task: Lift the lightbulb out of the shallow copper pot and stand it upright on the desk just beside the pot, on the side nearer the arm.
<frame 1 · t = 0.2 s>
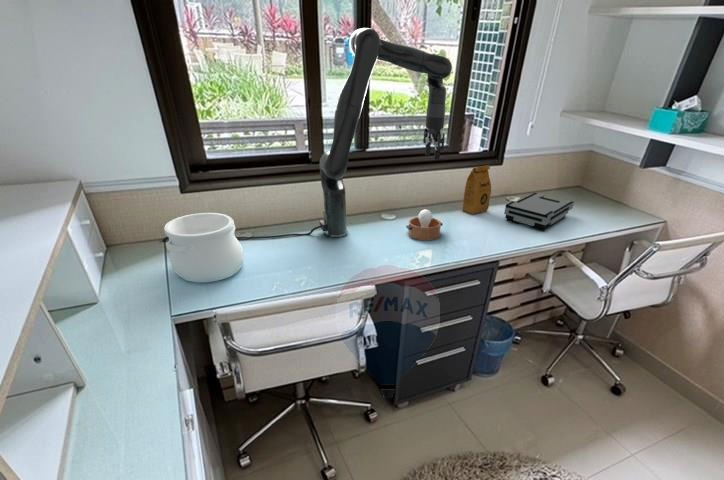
hand: (432, 157, 176), 29 cm above the table, tool pointing down, fingers open, 8 cm apart
game console: (537, 218, 200), on the table
pot: (211, 270, 148), on the table
coffee package: (474, 211, 206), on the table
lightbulb: (423, 234, 180), resting in copper pot
copper pot: (423, 234, 180), on the table
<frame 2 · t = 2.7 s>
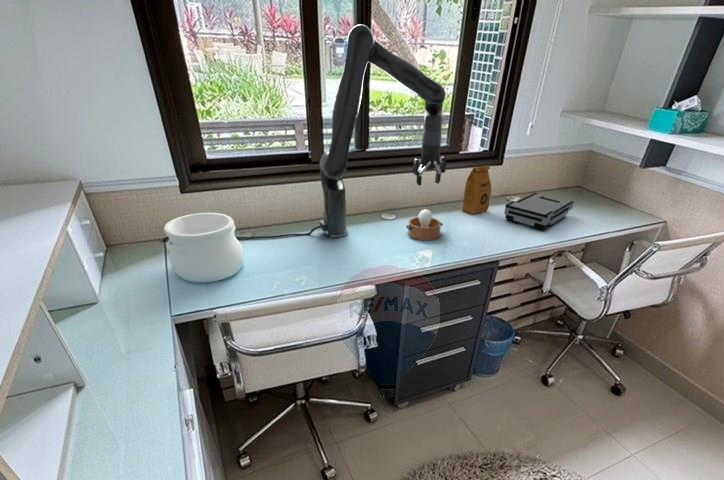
hand: (428, 184, 170), 21 cm above the table, tool pointing down, fingers open, 8 cm apart
nothing on the table moved.
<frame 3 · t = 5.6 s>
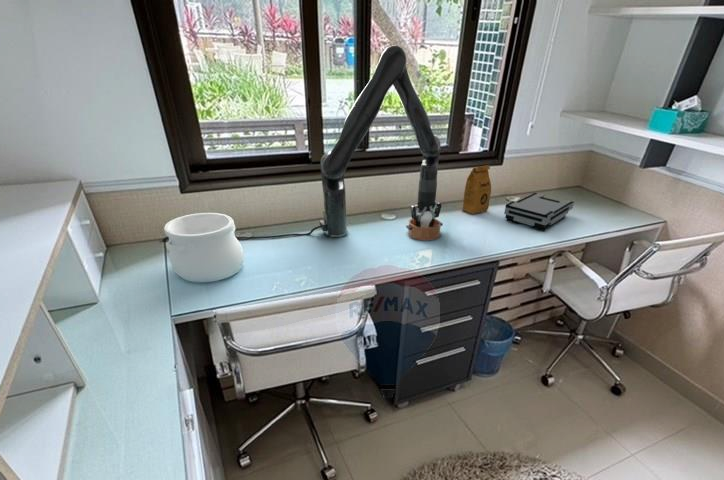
hand: (424, 227, 178), 3 cm above the table, tool pointing down, fingers closed on lightbulb, 5 cm apart
lightbulb: (423, 234, 180), resting in copper pot, touching gripper
everything else where it was.
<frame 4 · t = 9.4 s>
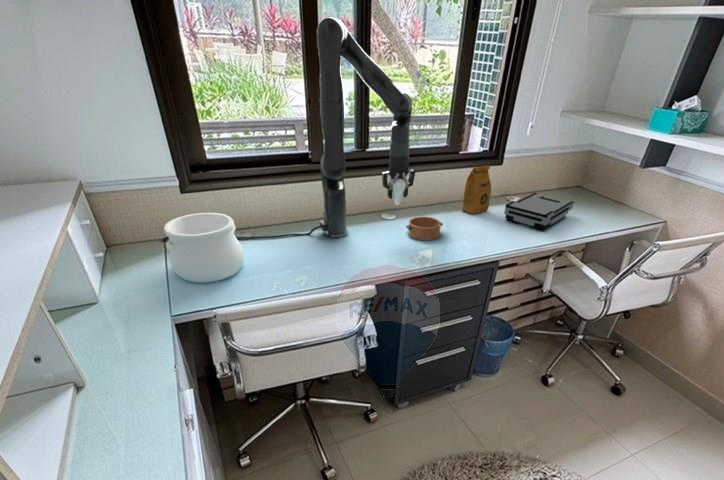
hand: (397, 197, 165), 18 cm above the table, tool pointing down, fingers closed on lightbulb, 5 cm apart
lightbulb: (397, 205, 167), point 14 cm above the table, touching gripper
everything else where it was.
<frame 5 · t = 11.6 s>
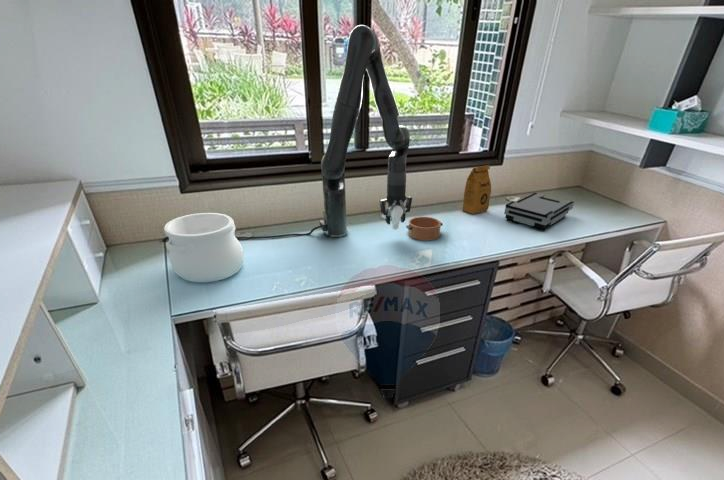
hand: (395, 222, 171), 7 cm above the table, tool pointing down, fingers closed on lightbulb, 6 cm apart
lightbulb: (395, 230, 173), point 4 cm above the table, touching gripper
everything else where it was.
when the fingers open (3 cm above the table, at t = 13.1 s): lightbulb stays where it is, on the table.
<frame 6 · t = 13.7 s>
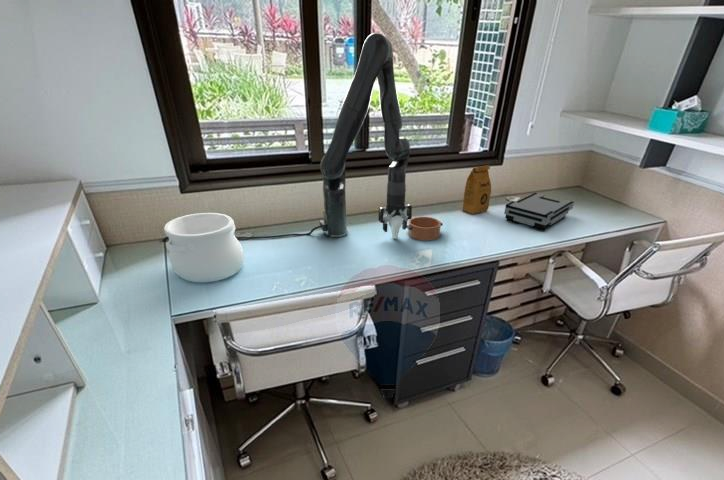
hand: (394, 230, 173), 4 cm above the table, tool pointing down, fingers open, 8 cm apart
lightbulb: (394, 239, 175), on the table
everything else where it was.
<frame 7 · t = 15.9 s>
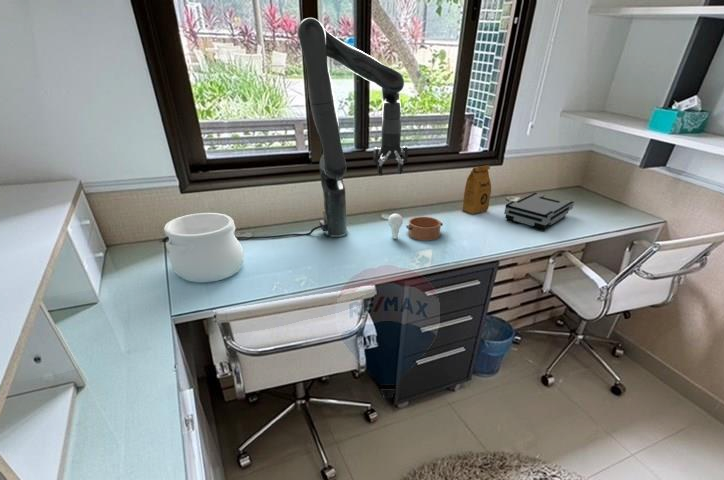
hand: (389, 174, 168), 25 cm above the table, tool pointing down, fingers open, 8 cm apart
nothing on the table moved.
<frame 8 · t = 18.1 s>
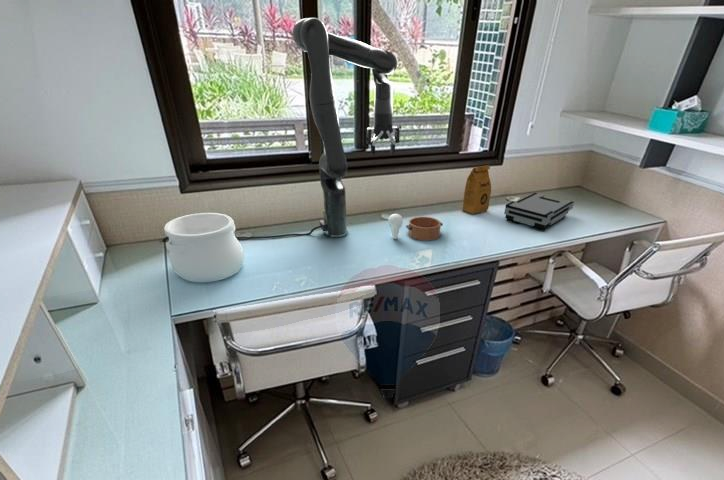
hand: (382, 154, 173), 30 cm above the table, tool pointing down, fingers open, 8 cm apart
nothing on the table moved.
at the end: lightbulb inside the target area (0.2 cm from its centre), on the table; lightbulb tilted 0°; the gripper is holding nothing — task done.
